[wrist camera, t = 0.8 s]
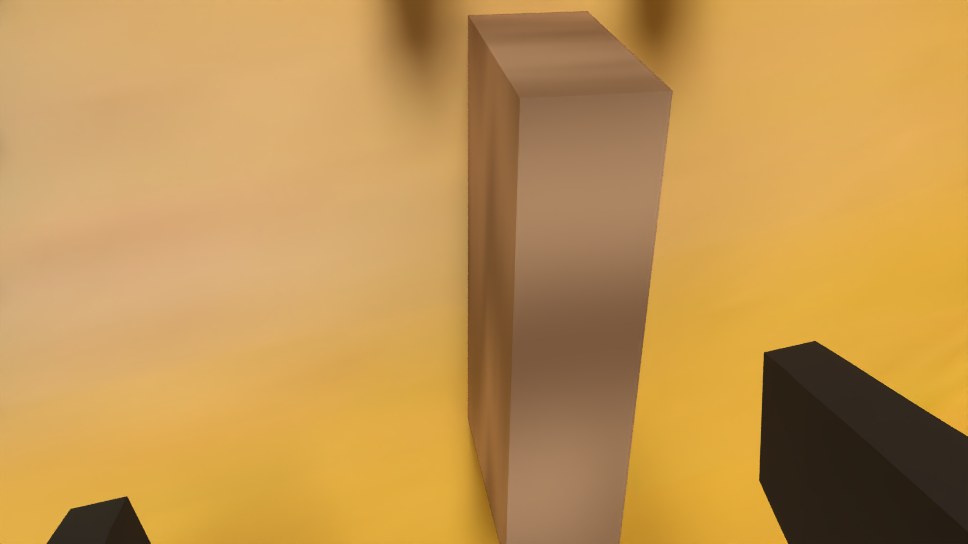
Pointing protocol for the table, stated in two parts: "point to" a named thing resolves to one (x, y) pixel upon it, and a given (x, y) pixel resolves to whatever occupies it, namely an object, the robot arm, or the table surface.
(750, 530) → the table surface
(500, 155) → the slat
